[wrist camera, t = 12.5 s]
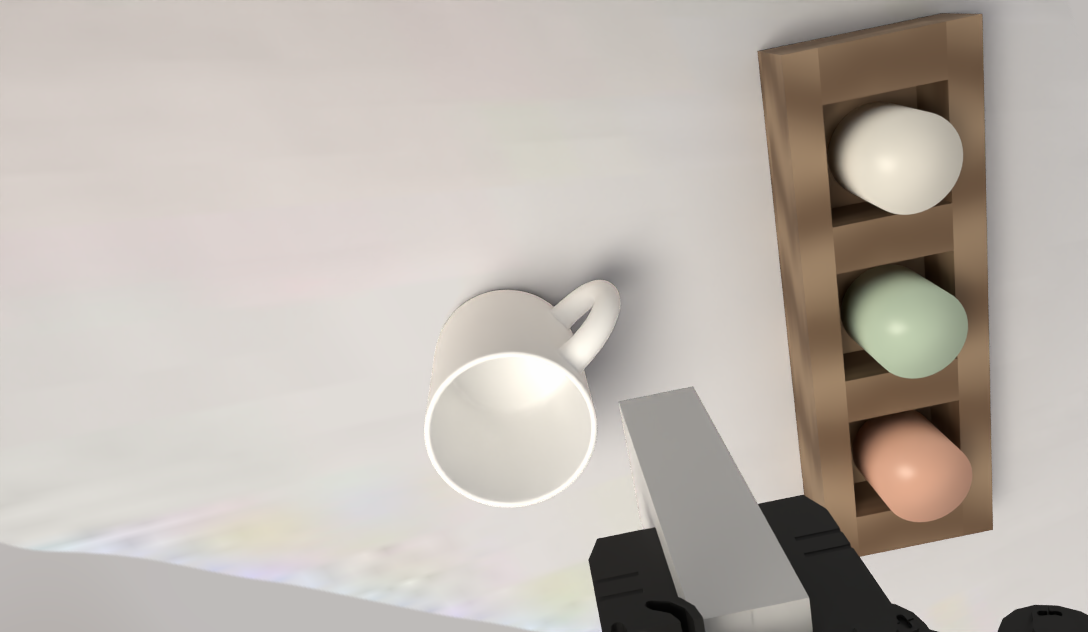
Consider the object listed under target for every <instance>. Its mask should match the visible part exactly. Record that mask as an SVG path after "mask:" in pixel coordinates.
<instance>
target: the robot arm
mask: <svg viewBox="0 0 1088 632" xmlns="http://www.w3.org/2000/svg"><path fill="white" fill-rule="evenodd" d="M619 407H620V412H621V418H622V423H623V429H624V434H625V440H626V445H627V451H628V456H629V462H630V467H631V473H632V478H633V484H634V489H635V495H636V500H637V506H638V511H639V517H640V521H641V524H642V527H643V530H638V531H634V532H629V533H624V534H619V535H614V536H609V537H604V538H599V539H597V541H596V543H595V546H594V548H593V550H592V553H591V555H590V558H589V564H590V570H591V575H592V580H593V586H594V591H595V596H596V601H597V607H598V612H599V618H600V623H601V628H602V632H937V631H934V630H930V629H929V628H928V627H927V625H926V624H925V623H924V622H923V621H922V620H921V619H920V618H918V617H917V616H916V615H915V614H914V613H913V612H911V611H909V610H907V609H904V608H902V607H900V606H898V605H896V604H891V602H890V601H889V599H888V598H887V596H886V595H885V594H884V592H883V591H882V589H881V588H880V586H879V585H878V583H877V582H876V580H875V579H874V577H873V576H872V574H871V573H870V572H869V570H868V569H867V567H866V566H865V564H864V563H863V561H862V560H861V558H860V557H859V555H858V554H857V552H856V551H855V550H854V548H852V547H851V544H850V542H849V541H848V539H847V538H846V536H845V535H844V533H843V532H841V531H840V528H839V526H838V525H837V523H836V522H835V520H834V519H833V517H832V516H831V514H830V513H829V511H828V510H827V509H826V508H824V507H823V506H821V505H819V504H818V503H816V502H814V501H813V500H811V499H809V498H808V497H806V496H805V495H800V496H795V497H790V498H785V499H780V500H775V501H770V502H765V503H760V504H757V502H756V500H755V498H754V496H753V495H752V493H751V491H750V489H749V487H748V485H747V484H746V482H745V480H744V478H743V476H742V475H741V473H740V471H739V469H738V467H737V465H736V464H735V462H734V460H733V458H732V456H731V455H730V453H729V451H728V449H727V447H726V445H725V444H724V442H723V440H722V438H721V436H720V435H719V433H718V431H717V429H716V427H715V425H714V424H713V422H712V420H711V418H710V416H709V415H708V413H707V411H706V409H705V407H704V405H703V404H702V402H701V400H700V398H699V396H698V395H697V393H696V391H695V389H694V387H688V388H683V389H678V390H673V391H668V392H663V393H658V394H653V395H649V396H644V397H639V398H634V399H629V400H624V401H619ZM998 632H1088V615H1087V614H1085V613H1083V612H1081V611H1077V610H1073V609H1069V608H1065V607H1061V606H1052V605H1033V606H1029V607H1024V608H1020V609H1016V610H1015V611H1013V612H1012V613H1010V614H1009V615H1007V616H1006V617H1004V618H1003V620H1002V622H1001V624H1000V627H999V629H998Z"/></svg>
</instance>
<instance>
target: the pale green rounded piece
mask: <svg viewBox="0 0 1088 632" xmlns="http://www.w3.org/2000/svg"><path fill="white" fill-rule="evenodd" d="M841 320H842V323H843V326H844V329H845V331H846V332H847V334H848V335H849V336H850V337H851V338H852V339H853V340H854V341H855V342H856V343H857V344H858V345H860V346H861V347H862V348H863V349H864V350H865V351H866V352H867V353H868V354H870V355H871V356H872V357H873V358H874V359H875V360H876V361H877V362H878V363H880V364H881V365H882V366H883V367H884V368H885V369H886V370H888V371H889V372H890V373H892V374H894V375H897V376H899V377H903V378H910V379H913V378H923V377H927V376H930V375H933V374H935V373H937V372H939V371H941V370H942V369H944V368H945V367H947V366H948V365H949V364H950V363H951V362H952V361H953V360H954V359H955V358H956V357H957V355H958V354H959V353H960V351H961V349H962V348H963V345H964V343H965V340H966V337H967V332H968V319H967V315H966V312H965V310H964V308H963V306H962V304H961V303H960V302H959V301H958V299H956V298H955V297H954V296H953V295H951V294H950V293H948V292H946V291H945V290H943V289H941V288H940V287H938V286H937V285H935V284H933V283H932V282H930V281H928V280H927V279H925V278H924V277H922V276H920V275H919V274H917V273H915V272H914V271H912V270H911V269H909V268H907V267H904V266H900V265H894V264H887V265H881V266H877V267H874V268H872V269H870V270H868V271H866V272H864V273H863V274H861V275H860V276H859V277H858V278H857V279H855V281H854V282H853V283H852V284H851V285H850V287H849V288H848V290H847V291H846V293H845V296H844V298H843V301H842V305H841Z"/></svg>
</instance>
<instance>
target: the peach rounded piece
mask: <svg viewBox="0 0 1088 632" xmlns="http://www.w3.org/2000/svg"><path fill="white" fill-rule="evenodd" d="M852 455H853V460H854V463H855V465H856V467H857V468H858V470H859V471H860V472H861V474H862V475H863V476H864V477H865V479H866V480H867V481H868V482H869V484H870V485H871V486H872V487H873V489H874V490H875V491H876V492H877V493H878V495H879V496H880V497H881V498H882V500H883V501H884V502H885V503H886V505H887V506H888V507H889V508H890V510H891V511H892V512H893V513H894V514H896V515H897V516H898V517H900V518H902V519H905V520H907V521H912V522H928V521H933V520H936V519H939V518H942V517H944V516H946V515H947V514H949V513H950V512H952V511H953V510H954V509H956V508H957V507H958V506H959V505H960V504H961V503H962V501H963V500H964V499H965V497H966V496H967V494H968V492H969V490H970V487H971V483H972V467H971V464H970V462H969V460H968V458H967V457H966V455H965V454H964V453H963V452H962V451H961V450H960V449H959V448H958V447H957V446H955V445H954V444H953V443H952V442H951V441H950V440H949V439H948V438H947V437H946V436H945V435H944V434H943V433H941V432H940V431H939V430H938V429H937V428H936V427H935V426H934V425H933V424H932V423H931V422H930V421H929V420H928V419H926V418H925V417H924V416H923V415H922V414H920V413H919V412H917V411H914V410H908V411H903V412H898V413H893V414H888V415H884V416H879V417H874V418H870V419H869V420H867V421H866V422H865V423H864V424H863V425H862V427H861V428H860V429H859V431H858V433H857V434H856V437H855V439H854V442H853V448H852Z"/></svg>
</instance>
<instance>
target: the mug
mask: <svg viewBox="0 0 1088 632" xmlns="http://www.w3.org/2000/svg"><path fill="white" fill-rule="evenodd" d="M620 306H621V300H620V295H619V292H618V290H617V289H616V287H615V286H614V285H613V284H612V283H610V282H608V281H606V280H594V281H591V282H588V283H586V284H583V285H582V286H580V287H578V288H577V289H575V290H574V291H572V292H571V293H570V294H569V295H567V296H566V297H565V298H564V299H563V300H561V301H560V302H559V303H558V304H557V305H556V306H554V307H553V306H552V305H551V304H550V303H548V302H547V301H545V300H543V299H542V298H540V297H537V296H535V295H533V294H530V293H527V292H523V291H518V290H496V291H491V292H487V293H484V294H481V295H478V296H476V297H474V298H472V299H470V300H468V301H467V302H465V303H464V304H463V305H461V306H460V307H459V308H458V309H457V310H456V311H455V312H454V313H453V314H452V315H451V316H450V317H449V319H448V320H447V322H446V323H445V325H444V327H443V329H442V330H441V332H440V335H439V338H438V341H437V344H436V349H435V354H434V360H433V367H432V374H431V381H430V388H429V395H428V402H427V409H426V416H425V424H424V436H425V444H426V448H427V452H428V455H429V457H430V460H431V462H432V464H433V466H434V467H435V469H436V471H437V472H438V473H439V475H440V476H441V477H442V478H443V480H444V481H445V482H447V483H448V484H449V485H450V486H451V487H452V488H453V489H455V490H456V491H457V492H459V493H460V494H462V495H464V496H465V497H467V498H469V499H471V500H474V501H476V502H479V503H482V504H486V505H490V506H496V507H510V508H511V507H523V506H528V505H533V504H536V503H539V502H542V501H545V500H547V499H549V498H552V497H553V496H555V495H557V494H558V493H560V492H562V491H563V490H564V489H566V488H567V487H568V486H570V485H571V484H572V483H573V482H574V481H575V480H576V479H577V478H578V477H579V475H580V474H581V473H582V471H583V470H584V469H585V467H586V465H587V464H588V462H589V460H590V458H591V455H592V453H593V451H594V447H595V443H596V437H597V418H596V412H595V408H594V405H593V401H592V397H591V393H590V390H589V386H588V383H587V379H586V375H585V371H584V369H585V368H586V366H587V365H588V364H589V363H590V362H591V361H592V360H593V358H594V357H595V356H596V355H597V354H598V352H599V351H600V350H601V348H602V347H603V346H604V344H605V342H606V341H607V339H608V338H609V336H610V334H611V332H612V331H613V329H614V326H615V324H616V321H617V318H618V315H619V311H620ZM591 308H592V310H591V312H590V313H589V315H588V317H587V318H586V320H585V322H584V323H583V324H582V325H581V327H580V328H579V329H578V330H577V332H576V333H575V334H574V335H573V333H572V331H571V329H570V327H571V326H572V325H573V324H574V323H575V322H576V321H577V320H578V319H579V318H581V317H582V316H583V315H584V314H585V313H586V312H587V311H589V310H590V309H591Z"/></svg>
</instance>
